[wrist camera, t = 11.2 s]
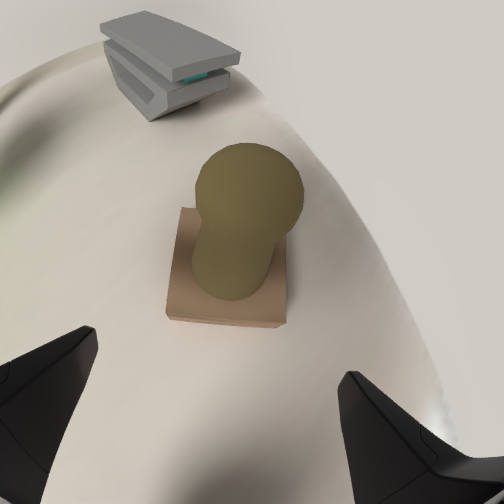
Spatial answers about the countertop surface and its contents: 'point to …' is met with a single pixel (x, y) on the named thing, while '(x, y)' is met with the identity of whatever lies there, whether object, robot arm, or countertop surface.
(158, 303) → the countertop surface
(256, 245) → the olive tall rounded piece
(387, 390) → the countertop surface
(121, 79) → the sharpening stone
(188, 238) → the tan flat block
